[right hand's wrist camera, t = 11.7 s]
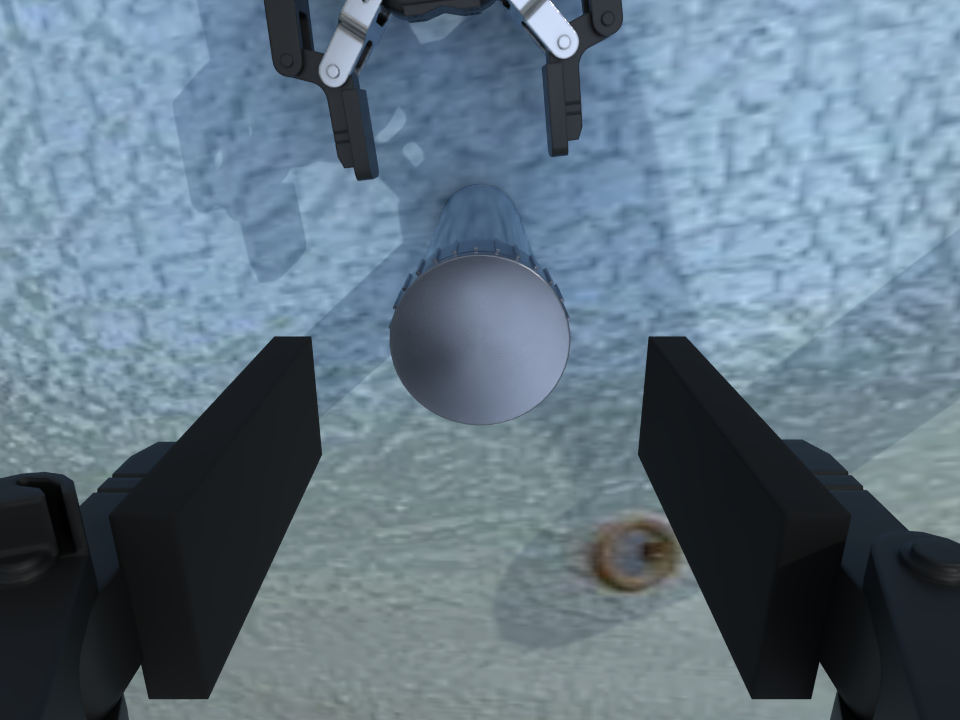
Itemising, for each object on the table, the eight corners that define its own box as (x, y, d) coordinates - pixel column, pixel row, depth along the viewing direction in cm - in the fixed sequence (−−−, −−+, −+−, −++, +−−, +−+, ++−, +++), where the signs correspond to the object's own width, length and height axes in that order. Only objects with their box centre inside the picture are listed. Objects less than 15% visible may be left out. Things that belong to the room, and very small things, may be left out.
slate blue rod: (426, 208, 36) (369, 308, 18) (495, 169, 36) (512, 228, 17) (465, 276, 38) (450, 436, 19) (532, 239, 37) (587, 367, 18)
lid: (364, 288, 19) (350, 309, 17) (514, 203, 18) (518, 215, 16) (449, 422, 21) (445, 456, 19) (591, 350, 20) (604, 377, 18)
